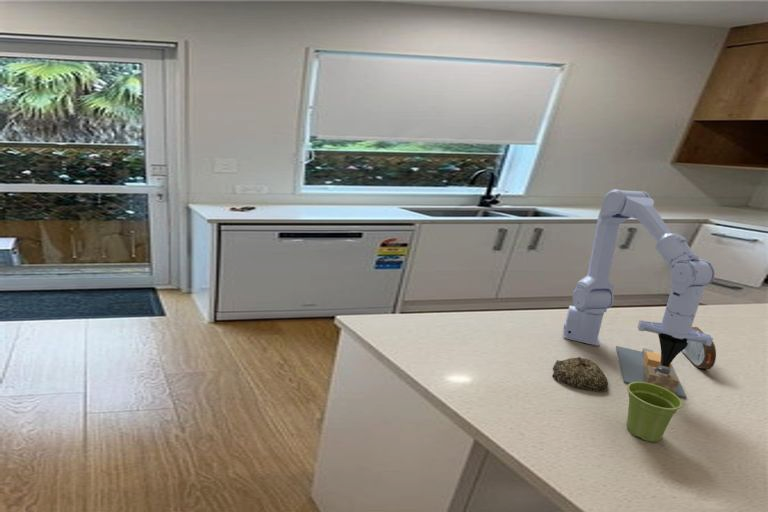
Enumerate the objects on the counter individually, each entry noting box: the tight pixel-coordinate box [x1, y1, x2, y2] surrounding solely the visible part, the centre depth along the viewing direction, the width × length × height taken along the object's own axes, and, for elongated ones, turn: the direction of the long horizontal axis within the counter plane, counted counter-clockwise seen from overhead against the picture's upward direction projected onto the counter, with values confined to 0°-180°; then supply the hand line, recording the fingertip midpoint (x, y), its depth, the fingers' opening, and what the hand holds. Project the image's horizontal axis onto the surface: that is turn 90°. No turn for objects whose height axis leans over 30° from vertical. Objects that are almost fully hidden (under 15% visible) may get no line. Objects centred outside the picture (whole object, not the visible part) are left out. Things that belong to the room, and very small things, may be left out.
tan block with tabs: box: [643, 351, 673, 369], centre depth 112 cm, size 5×5×4 cm
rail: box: [641, 347, 655, 357], centre depth 116 cm, size 2×16×2 cm, turn 158°
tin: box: [681, 326, 717, 370], centre depth 122 cm, size 15×3×8 cm, turn 168°
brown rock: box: [552, 356, 609, 392], centre depth 108 cm, size 13×12×5 cm
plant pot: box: [626, 382, 683, 443], centre depth 89 cm, size 9×9×9 cm
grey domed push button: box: [656, 365, 670, 377], centre depth 106 cm, size 3×3×4 cm
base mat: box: [615, 345, 688, 400], centre depth 115 cm, size 13×21×1 cm, turn 158°
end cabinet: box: [643, 365, 680, 394], centre depth 107 cm, size 6×5×4 cm
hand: (664, 364), depth 106 cm, fingers closed
